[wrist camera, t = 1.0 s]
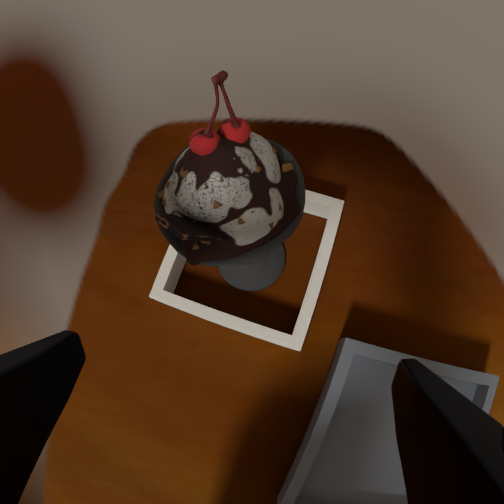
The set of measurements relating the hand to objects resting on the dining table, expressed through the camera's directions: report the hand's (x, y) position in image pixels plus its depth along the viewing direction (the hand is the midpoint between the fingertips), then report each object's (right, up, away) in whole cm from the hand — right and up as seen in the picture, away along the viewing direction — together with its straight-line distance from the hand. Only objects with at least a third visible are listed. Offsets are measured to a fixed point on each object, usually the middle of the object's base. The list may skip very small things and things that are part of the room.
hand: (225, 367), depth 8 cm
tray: (+10, -11, +10) cm, 18 cm away
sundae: (+1, +3, +16) cm, 16 cm away
